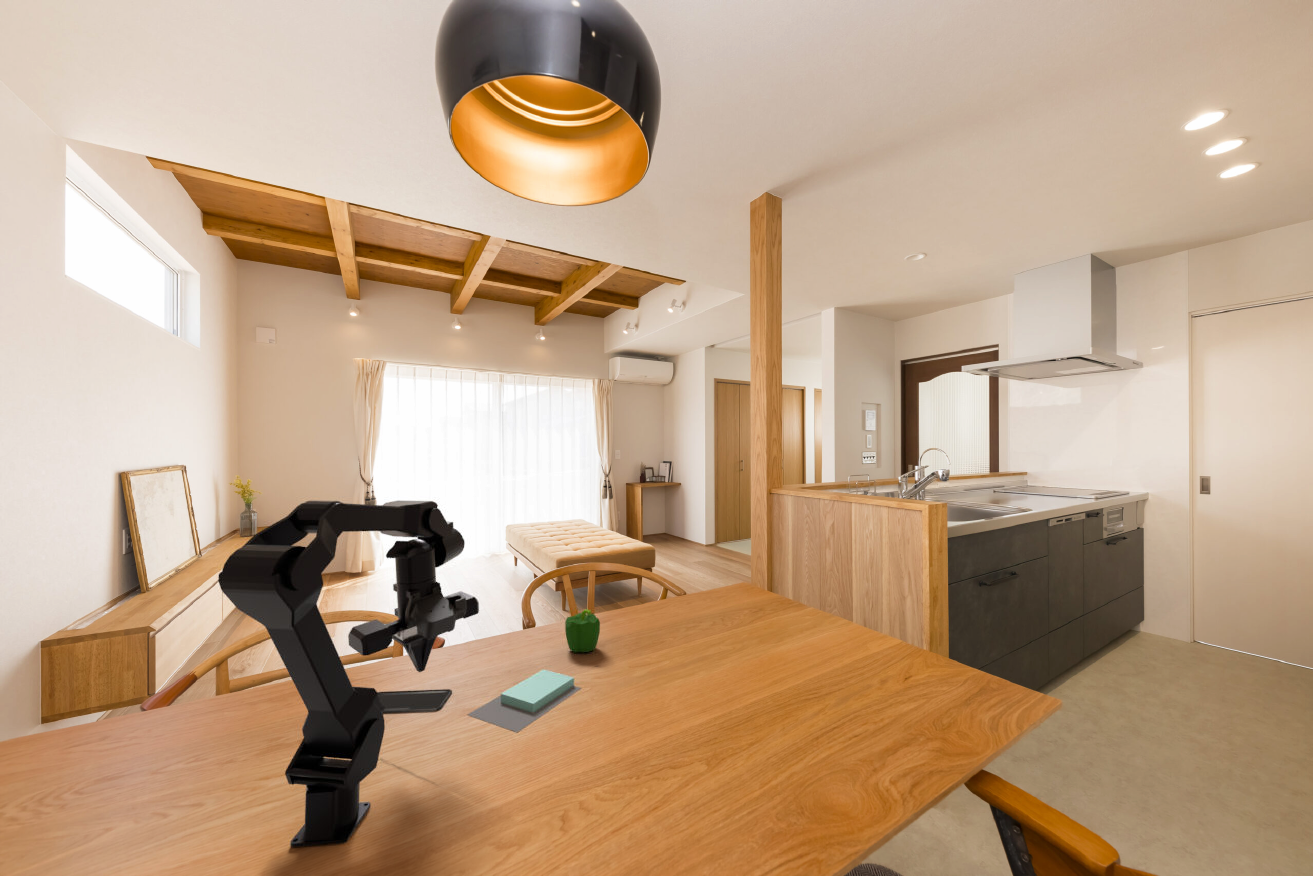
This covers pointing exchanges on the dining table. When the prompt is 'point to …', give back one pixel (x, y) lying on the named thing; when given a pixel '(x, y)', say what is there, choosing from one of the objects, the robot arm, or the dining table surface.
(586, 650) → the bell pepper
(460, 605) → the robot arm
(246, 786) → the dining table surface
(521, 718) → the mat
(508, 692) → the teal board
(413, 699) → the phone
